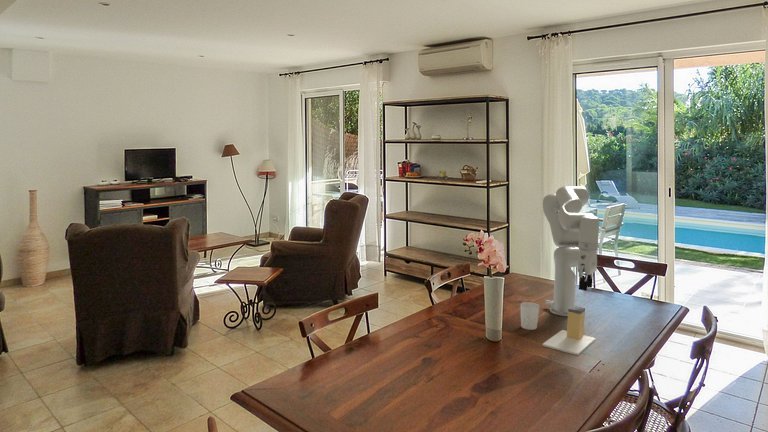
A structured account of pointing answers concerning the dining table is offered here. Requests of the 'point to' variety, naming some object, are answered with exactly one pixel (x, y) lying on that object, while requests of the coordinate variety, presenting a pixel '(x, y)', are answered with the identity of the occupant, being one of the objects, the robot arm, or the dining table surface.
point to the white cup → (529, 315)
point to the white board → (568, 343)
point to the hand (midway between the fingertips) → (585, 287)
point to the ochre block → (575, 322)
